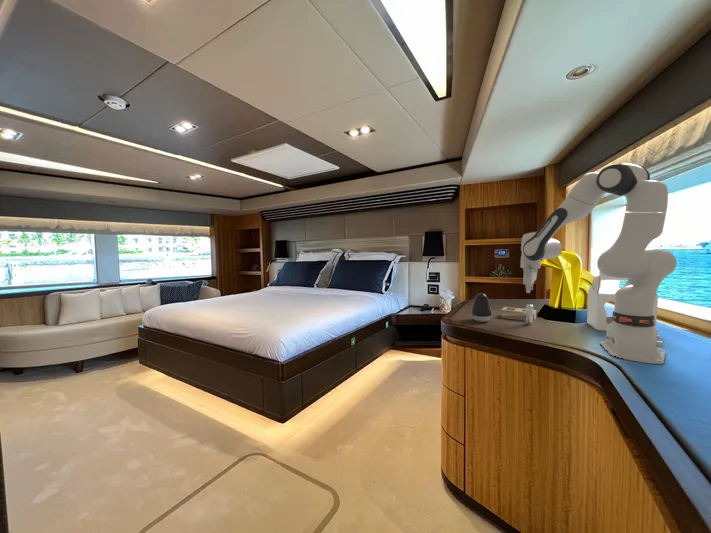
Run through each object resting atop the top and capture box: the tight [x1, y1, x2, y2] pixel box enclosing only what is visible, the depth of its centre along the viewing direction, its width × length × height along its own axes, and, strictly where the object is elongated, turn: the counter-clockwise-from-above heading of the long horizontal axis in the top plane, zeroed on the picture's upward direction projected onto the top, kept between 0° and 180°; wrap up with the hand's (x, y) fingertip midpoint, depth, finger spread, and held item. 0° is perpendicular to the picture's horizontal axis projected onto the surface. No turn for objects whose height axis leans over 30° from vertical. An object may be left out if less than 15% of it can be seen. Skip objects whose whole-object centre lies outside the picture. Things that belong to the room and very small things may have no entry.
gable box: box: [586, 271, 659, 332], centre depth 144 cm, size 22×13×28 cm, turn 68°
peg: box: [525, 304, 534, 326], centre depth 155 cm, size 3×3×10 cm
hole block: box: [500, 306, 537, 323], centre depth 167 cm, size 9×16×4 cm, turn 53°
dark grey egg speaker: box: [470, 292, 493, 323], centre depth 163 cm, size 10×10×15 cm
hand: (529, 291), depth 154 cm, fingers open, 8 cm apart
